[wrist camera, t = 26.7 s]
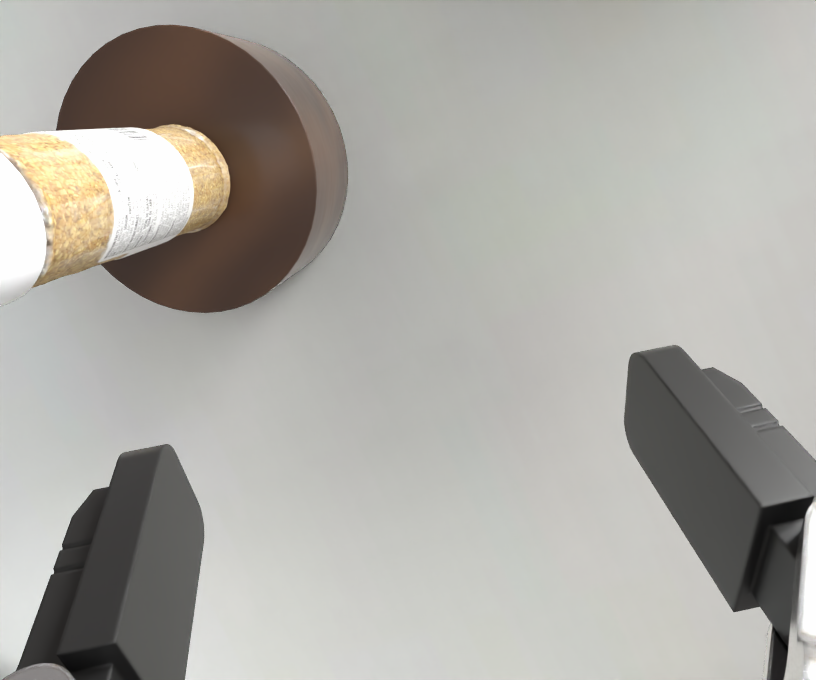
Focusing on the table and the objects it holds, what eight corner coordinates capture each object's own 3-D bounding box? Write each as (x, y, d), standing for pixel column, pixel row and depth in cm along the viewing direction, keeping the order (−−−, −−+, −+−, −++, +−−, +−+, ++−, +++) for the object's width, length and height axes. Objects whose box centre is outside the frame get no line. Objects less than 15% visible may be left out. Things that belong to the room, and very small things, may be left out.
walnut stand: (77, 155, 34) (5, 163, 29) (226, -23, 30) (169, -47, 25) (236, 329, 35) (192, 362, 31) (398, 183, 31) (375, 196, 27)
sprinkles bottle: (126, 206, 29) (-185, 280, 16) (149, 104, 27) (-178, 101, 15) (219, 248, 29) (-21, 356, 16) (248, 149, 27) (5, 183, 14)
